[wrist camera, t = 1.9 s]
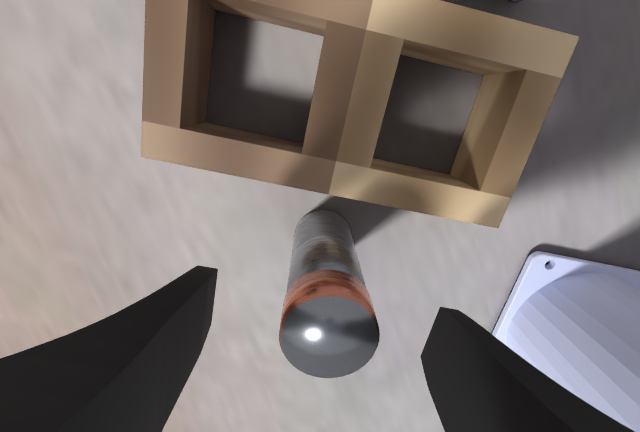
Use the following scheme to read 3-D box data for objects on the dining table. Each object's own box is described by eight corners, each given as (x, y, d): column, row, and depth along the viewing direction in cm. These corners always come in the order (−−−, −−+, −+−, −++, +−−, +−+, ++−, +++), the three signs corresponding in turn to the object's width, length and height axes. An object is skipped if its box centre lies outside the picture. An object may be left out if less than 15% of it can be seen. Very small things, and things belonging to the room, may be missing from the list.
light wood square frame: (524, 49, 14) (579, 36, 11) (465, 205, 16) (498, 228, 13) (363, 8, 13) (376, -17, 10) (325, 176, 15) (328, 194, 13)
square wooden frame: (363, 8, 13) (376, -17, 10) (325, 176, 15) (328, 194, 13) (185, -38, 12) (147, -77, 10) (173, 145, 15) (140, 156, 12)
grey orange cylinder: (357, 214, 16) (392, 306, 9) (344, 266, 17) (365, 385, 10) (299, 203, 16) (288, 288, 9) (288, 256, 17) (271, 371, 10)
